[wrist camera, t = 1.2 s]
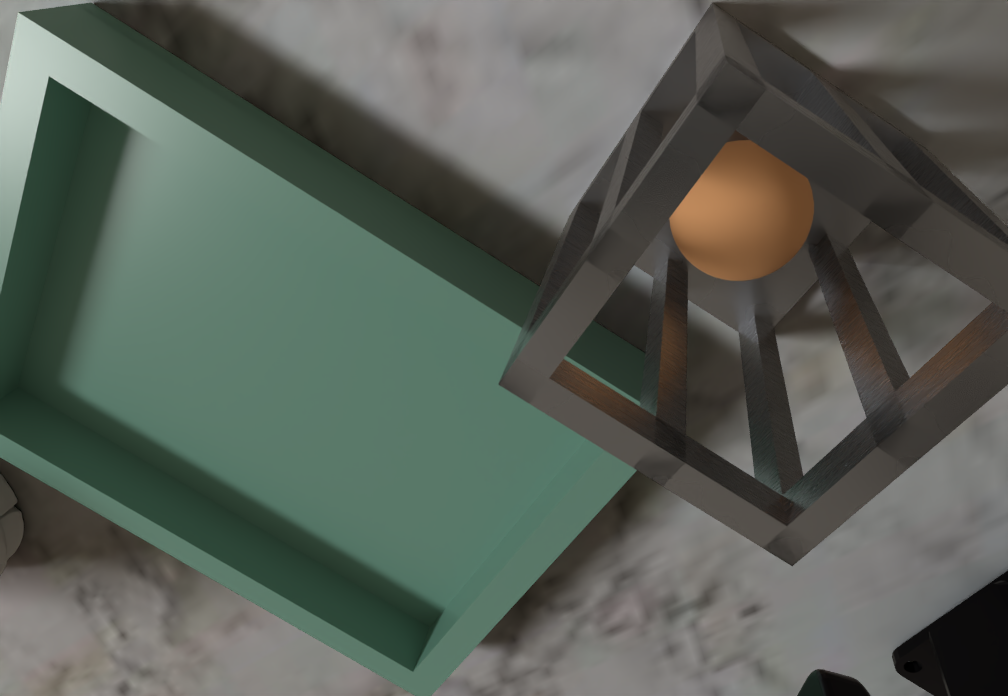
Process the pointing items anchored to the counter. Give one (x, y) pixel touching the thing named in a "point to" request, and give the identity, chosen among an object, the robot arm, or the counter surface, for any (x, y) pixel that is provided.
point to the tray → (272, 358)
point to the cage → (765, 291)
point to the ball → (744, 214)
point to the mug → (9, 524)
